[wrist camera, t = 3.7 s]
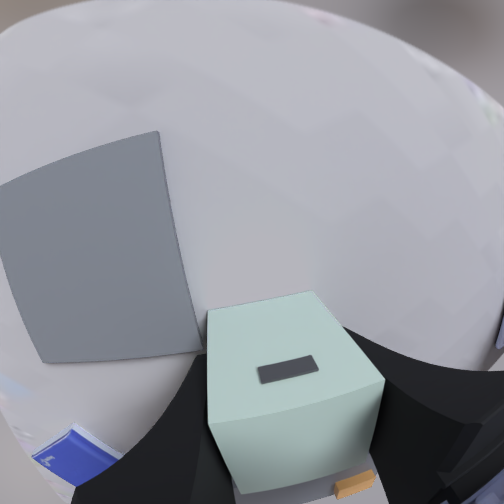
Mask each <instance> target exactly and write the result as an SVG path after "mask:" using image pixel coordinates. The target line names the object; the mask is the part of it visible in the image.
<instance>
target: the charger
mask: <svg viewBox="0 0 504 504" xmlns="http://www.w3.org/2000/svg"><path fill="white" fill-rule="evenodd" d="M384 383H385V378H384V377H383V376H382V375H381V373H380V372H379V371H378V370H377V368H376V367H375V366H374V365H373V364H372V362H371V361H370V360H369V359H368V357H367V356H366V355H365V354H364V353H363V351H362V350H361V349H360V348H359V346H358V345H357V344H356V343H355V342H354V340H353V339H352V338H351V337H350V335H349V334H348V333H347V332H346V331H345V329H344V328H343V327H342V326H341V325H340V323H339V322H338V321H337V320H336V319H335V317H334V316H333V315H332V314H331V313H330V311H329V310H328V309H327V308H326V307H325V305H324V304H323V303H322V302H321V301H320V300H319V298H318V297H317V296H316V295H315V294H314V292H313V291H312V290H311V291H306V292H302V293H297V294H292V295H288V296H283V297H278V298H273V299H268V300H263V301H258V302H253V303H247V304H242V305H237V306H231V307H225V308H220V309H214V310H208V323H207V397H208V425H209V427H210V430H211V432H212V434H213V437H214V439H215V441H216V443H217V446H218V448H219V450H220V452H221V454H222V457H223V459H224V461H225V463H226V465H227V467H228V469H229V471H230V473H231V475H232V477H233V479H234V481H235V483H236V485H237V487H238V489H239V491H240V493H241V494H248V493H255V492H261V491H267V490H272V489H277V488H282V487H286V486H291V485H295V484H299V483H303V482H307V481H311V480H314V479H318V478H321V477H325V476H328V475H331V474H334V473H337V472H340V471H343V470H346V469H349V468H352V467H354V466H357V465H360V464H362V463H365V461H366V458H367V455H368V451H369V448H370V444H371V441H372V437H373V433H374V429H375V425H376V421H377V417H378V412H379V408H380V403H381V398H382V393H383V388H384Z"/></svg>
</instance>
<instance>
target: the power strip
mask: <svg viewBox="0 0 504 504" xmlns="http://www.w3.org/2000/svg"><path fill="white" fill-rule="evenodd" d="M376 474H377V470H376V467H375V465H374V462H373V460H372V457H371V455H370V453H369V451H368V455H367V458H366V461H365V463H362V464H360V465H357V466H354V467H352V468H349V469H346V470H343V471H340V472H337V473H334V474H331V475H328V476H325V477H321V478H318V479H314V480H311V481H307V482H303V483H299V484H295V485H291V486H286V487H282V488H277V489H272V490H267V491H261V492H255V493H248V494H241V493H240V491H239V489H238V487H237V485H236V483H235V481H234V479H233V477H232V475H231V478H232V484H233V490H234V496H235V501H236V504H302V503H306V502H310V501H314V500H317V499H321V498H324V497H327V496H331V495H334V494H335V496H336V499H340V498H343V497H346V496H349V495H352V494H354V493H357V492H360V491H362V490H365V489H367V488H370V487H372V484H373V482H374V480H375V478H376Z"/></svg>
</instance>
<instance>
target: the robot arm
mask: <svg viewBox="0 0 504 504" xmlns="http://www.w3.org/2000/svg"><path fill="white" fill-rule="evenodd" d="M342 327H343V326H342ZM343 328H344V329H345V331H346V332H347V333H348V334H349V335H350V337H351V338H352V339H353V340H354V342H355V343H356V344H357V345H358V346H359V348H360V349H361V350H362V351H363V353H364V354H365V355H366V356H367V357H368V359H369V360H370V361H371V362H372V364H373V365H374V366H375V367H376V368H377V370H378V371H379V372H380V373H381V375H382V376H383V377H384V378H385V383H384V388H383V393H382V398H381V403H380V408H379V412H378V417H377V421H376V425H375V429H374V433H373V437H372V441H371V444H370V448H369V453H370V455H371V457H372V460H373V462H374V465H375V467H376V470H377V472H378V474H379V477H380V480H381V482H382V485H383V488H384V491H385V492H386V496H387V499H388V502H389V504H504V371H469V370H460V369H453V368H448V367H442V366H437V365H433V364H429V363H426V362H422V361H419V360H415V359H413V358H410V357H407V356H404V355H402V354H399V353H397V352H394V351H392V350H389V349H387V348H385V347H383V346H381V345H378V344H376V343H374V342H372V341H370V340H368V339H366V338H364V337H362V336H361V335H359V334H357V333H355V332H353V331H351V330H349V329H347V328H345V327H343ZM503 346H504V317H503V321H502V325H501V328H500V332H499V335H498V339H497V342H496V348H497V349H501V348H502V347H503ZM71 504H236V501H235V496H234V490H233V484H232V478H231V473H230V471H229V469H228V467H227V465H226V463H225V461H224V459H223V457H222V454H221V452H220V450H219V448H218V446H217V443H216V441H215V439H214V437H213V434H212V432H211V430H210V427H209V425H208V397H207V354H202V355H197V356H196V358H195V360H194V362H193V364H192V366H191V368H190V370H189V372H188V374H187V376H186V378H185V380H184V382H183V383H182V385H181V387H180V388H179V390H178V392H177V394H176V395H175V397H174V398H173V400H172V401H171V403H170V404H169V406H168V407H167V409H166V410H165V412H164V413H163V415H162V416H161V417H160V419H159V420H158V421H157V422H156V424H155V425H154V426H153V427H152V428H151V430H150V431H149V432H148V433H147V434H146V435H145V436H144V437H143V438H142V439H141V440H140V441H139V442H138V443H137V444H136V445H135V446H134V447H133V448H132V449H131V450H130V451H129V452H128V453H127V454H125V455H124V456H123V457H122V458H121V459H119V460H118V461H117V462H116V463H114V464H113V465H111V466H110V467H109V468H107V469H106V470H104V471H103V472H101V473H100V474H98V475H97V476H95V477H93V478H92V479H90V480H88V481H86V482H85V483H83V484H81V485H79V486H77V487H76V488H75V491H74V494H73V497H72V501H71Z"/></svg>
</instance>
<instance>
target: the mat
mask: <svg viewBox="0 0 504 504" xmlns="http://www.w3.org/2000/svg"><path fill="white" fill-rule="evenodd" d="M0 255H1V259H2V262H3V266H4V269H5V272H6V276H7V279H8V282H9V285H10V288H11V291H12V294H13V297H14V299H15V302H16V305H17V307H18V310H19V312H20V315H21V317H22V320H23V322H24V324H25V327H26V329H27V331H28V334H29V336H30V338H31V340H32V342H33V344H34V346H35V348H36V350H37V352H38V354H39V356H40V358H41V360H42V362H43V363H63V362H90V361H107V360H121V359H132V358H143V357H152V356H161V355H169V354H177V353H185V352H192V351H199V350H203V342H202V338H201V335H200V331H199V327H198V323H197V320H196V316H195V312H194V308H193V304H192V300H191V296H190V292H189V288H188V284H187V280H186V276H185V271H184V267H183V262H182V258H181V253H180V249H179V244H178V239H177V235H176V230H175V225H174V220H173V214H172V209H171V204H170V198H169V193H168V187H167V181H166V175H165V169H164V163H163V156H162V150H161V143H160V135H159V132H158V131H153V132H149V133H145V134H141V135H137V136H133V137H129V138H125V139H122V140H118V141H115V142H111V143H108V144H105V145H102V146H98V147H95V148H92V149H89V150H86V151H83V152H80V153H77V154H74V155H72V156H69V157H66V158H63V159H61V160H58V161H56V162H53V163H50V164H48V165H45V166H43V167H41V168H38V169H36V170H33V171H31V172H29V173H27V174H24V175H22V176H20V177H18V178H16V179H13V180H11V181H9V182H7V183H5V184H3V185H1V186H0Z"/></svg>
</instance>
